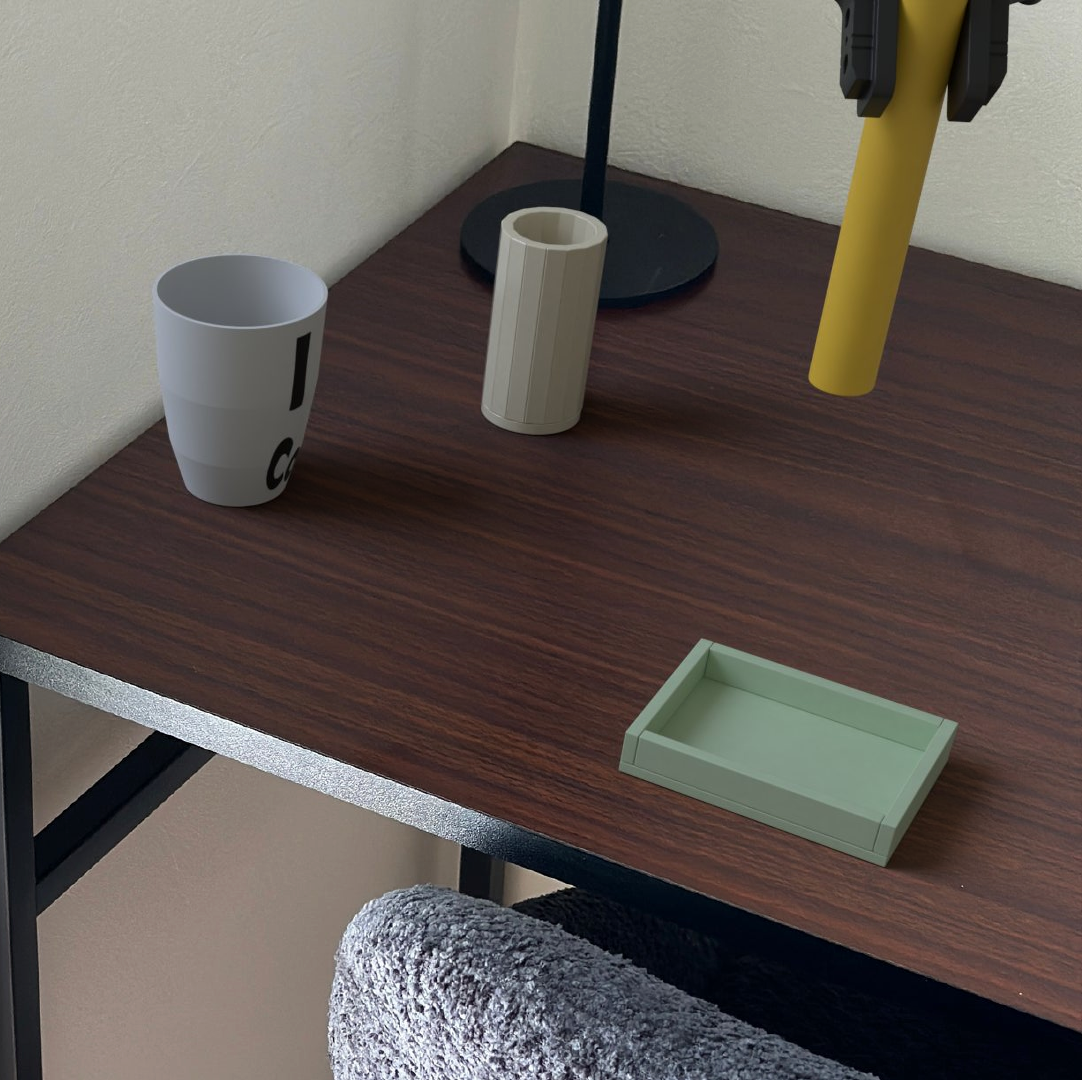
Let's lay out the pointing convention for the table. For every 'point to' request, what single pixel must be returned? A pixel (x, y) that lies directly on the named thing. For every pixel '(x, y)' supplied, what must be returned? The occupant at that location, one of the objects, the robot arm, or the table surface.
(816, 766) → the tray
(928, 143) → the pencil
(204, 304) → the cup
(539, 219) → the pencil holder
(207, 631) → the table surface
